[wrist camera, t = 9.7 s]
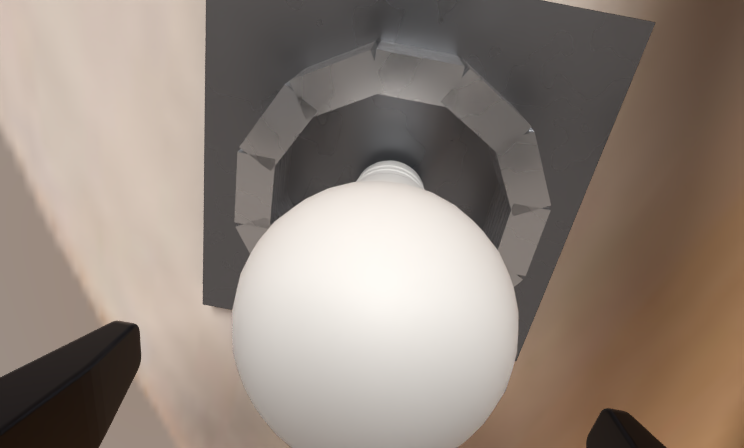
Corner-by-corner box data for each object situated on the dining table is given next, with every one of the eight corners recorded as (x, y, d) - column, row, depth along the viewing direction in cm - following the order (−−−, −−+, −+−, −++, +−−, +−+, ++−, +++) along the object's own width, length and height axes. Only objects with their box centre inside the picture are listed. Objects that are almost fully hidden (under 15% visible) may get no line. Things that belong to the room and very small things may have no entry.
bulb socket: (641, 20, 15) (700, 28, 12) (511, 345, 22) (529, 405, 19) (218, -62, 15) (169, -75, 12) (211, 291, 22) (178, 342, 18)
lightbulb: (298, 237, 19) (174, 508, 9) (323, 84, 16) (182, 235, 6) (447, 270, 19) (483, 572, 9) (496, 124, 16) (623, 332, 6)
